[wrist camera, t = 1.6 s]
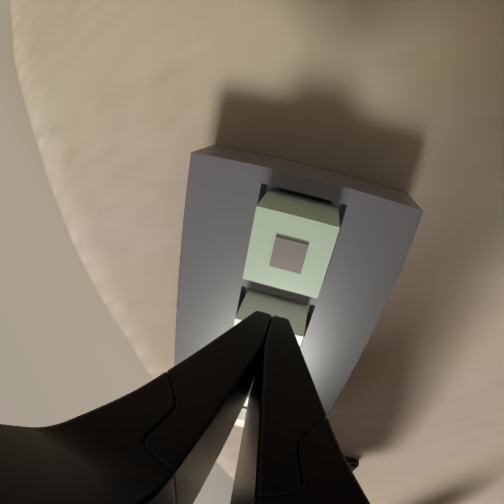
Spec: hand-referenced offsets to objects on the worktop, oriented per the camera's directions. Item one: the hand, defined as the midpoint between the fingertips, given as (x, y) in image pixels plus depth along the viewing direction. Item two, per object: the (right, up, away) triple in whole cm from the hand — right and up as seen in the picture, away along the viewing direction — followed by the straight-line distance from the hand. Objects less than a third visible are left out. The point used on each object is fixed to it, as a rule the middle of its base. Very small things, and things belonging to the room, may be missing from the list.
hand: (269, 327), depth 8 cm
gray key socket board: (+1, -1, +10) cm, 10 cm away
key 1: (+2, +3, +6) cm, 7 cm away
